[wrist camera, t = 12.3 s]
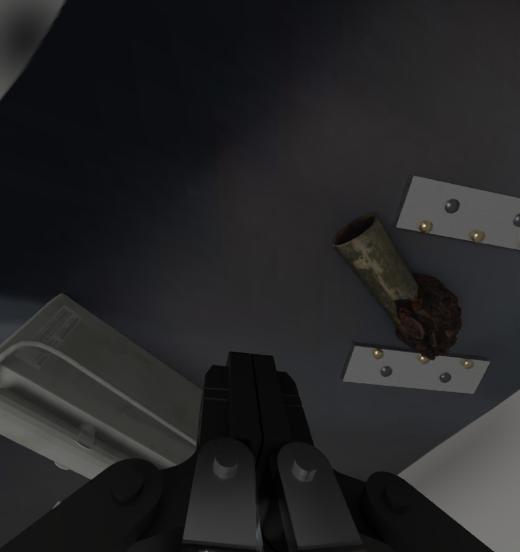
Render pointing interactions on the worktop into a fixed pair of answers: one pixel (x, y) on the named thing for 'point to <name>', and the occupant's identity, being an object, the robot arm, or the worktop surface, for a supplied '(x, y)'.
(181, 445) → the geiger counter
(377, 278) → the cylinder with dark lump
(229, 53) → the worktop surface
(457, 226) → the hinge leaves
